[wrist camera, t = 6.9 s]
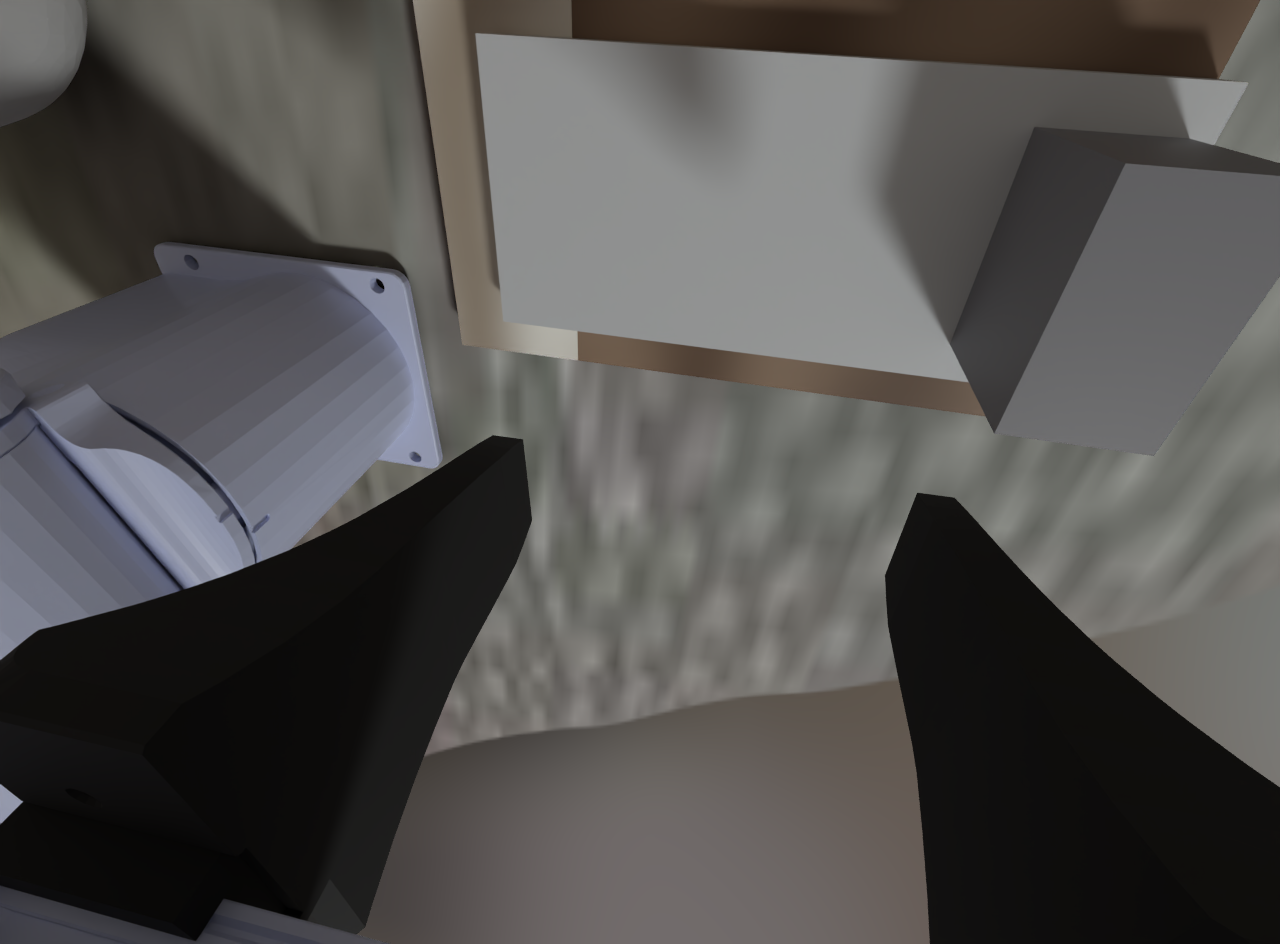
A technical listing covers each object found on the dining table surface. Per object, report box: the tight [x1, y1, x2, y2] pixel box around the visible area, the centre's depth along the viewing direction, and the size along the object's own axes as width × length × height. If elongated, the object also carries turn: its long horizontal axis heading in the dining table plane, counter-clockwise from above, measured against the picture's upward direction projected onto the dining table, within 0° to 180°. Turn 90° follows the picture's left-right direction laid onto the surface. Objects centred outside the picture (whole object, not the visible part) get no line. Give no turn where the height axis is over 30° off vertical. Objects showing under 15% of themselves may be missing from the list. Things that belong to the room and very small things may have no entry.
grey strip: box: [475, 33, 1280, 456], centre depth 13 cm, size 16×7×5 cm, turn 88°
